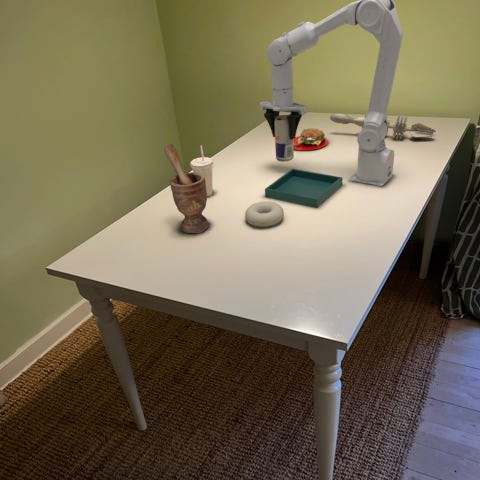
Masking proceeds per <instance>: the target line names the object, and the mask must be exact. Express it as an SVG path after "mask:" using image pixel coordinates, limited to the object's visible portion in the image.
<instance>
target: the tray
mask: <svg viewBox="0 0 480 480" xmlns="http://www.w3.org/2000/svg"><path fill="white" fill-rule="evenodd" d="M343 179H344V178H343V177H342V176H339V175H338V176H337V175H331V174H326V173H320V172H315V171H310V170H309V171H308V170H304V169H297V168H291V169H290V170H289V171H287V172H286V173H284V174H283V175H282V176H280V177H279V178H277V179H276V180H274V182H272V183H271V184H270V185H268V186H267V187H265V188H264V197H265V198H270V199H273V200H278V201H283V202H288V203H292V204H297V205H302V206H305V207H306V206H307V207H311V208H315V209H318V208H319V207H320V206H321V205H322V204H323V203H325V201H327V200H328V199H329V198H331V196H332V195H334V193H336V192H337V191H338V190H340V188H341V187H342V186H343V181H344V180H343Z"/></svg>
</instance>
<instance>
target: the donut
mask: <svg viewBox="0 0 480 480" xmlns="http://www.w3.org/2000/svg"><path fill="white" fill-rule="evenodd" d="M284 216H285V213H284V208H283V207H282V206H281V205H280V204H279V203H277V202H274V201H267V200H265V201H258V202H254V203H252V204H251V205H249V206H248V207H247V209H246V210H245V212H244V217H245V220H246V222H247V223H249V224H250V225H252V226H254V227H259V228H260V227H261V228H265V227H272V226H274V225H277V224H279V223H280V222H281V221H282V220H283V217H284Z"/></svg>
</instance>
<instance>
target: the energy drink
mask: <svg viewBox="0 0 480 480" xmlns="http://www.w3.org/2000/svg"><path fill="white" fill-rule="evenodd" d="M288 115H289V114H279V116H277V117H275V120H274V126H275V137H274V143H275V144H274V147H275V159H276V161H278V162H281V163H282V162H283V163H285V162H286V163H287V162H290V161H292V160H293V159H294V157H295V154H294V153H295V152H294V151H295V149H294V147H293V139H292V140H291V139H290V137H289V124H288V120H287V116H288Z"/></svg>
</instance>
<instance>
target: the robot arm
mask: <svg viewBox="0 0 480 480" xmlns="http://www.w3.org/2000/svg"><path fill="white" fill-rule="evenodd" d="M345 25H349V26H353V27H355V26H357V25H359V27H360V28H362V29H363V30H365V31H366V32H367V33H370V34H372V36H373V37H374V38H375V39H376V41H377V42H378V43H379V50H378V56H377V59H376V60H377V61H376V65H375V66H376V67H375V70H374V77H373V80H372V81H373V82H372V87H371V92H370V93H371V94H370V97H369V98H370V99H369V103H368V108H367V113H366V115H367V116H366V118H365V117H364V118H365V121H364V126H363V129H362V128H361V130H360V132H358V135H357V144H358V151H357V164H356V165H357V167H356V174H355V175H354V176H352V178H351V179H350V181H351V182H357V183H362V184H368V185H374V186H380V187H383V186H385V184H386V183H388V181H389V180H390V179H391V178H392V177H393V176H394V174H393V170H394V163H395V151H394V149H391V148H388V147H387V144H386V141H385V140H384V138H385V137H386V136H387V134H388V131H389V128H388V124H387V120H388V117H389V116H388V115H389V112H388V108H389V105H390V98H391V95H392V90H393V85H394V80H395V76H396V72H397V65H398V62H399V57H400V52H401V47H402V43H403V37H404V31H403V28H402V25H401V21H400V19H399V15H398V11H397V5H396V2H394V0H356V1H353V2H350V3H348V4H346V5H345V6H343V7H342V8H340V9H337V10H336V11H335V12H334V13H332V14H330V15H327V17H325V18H323V19H321V20H320V21H318V22H317V23H314V22H311V21H307V22H305V21H302V22H300V23H297V27H296V28H294V29H292V30H290V31H289V32H288V31H285V32H283V33H282V34H281V37H278V38H276V39H273V41H271V42H270V43H269V44H268V46H267V50H266V55H267V56H266V57H267V59H268V61H269V62H270V73H271V96H272V97H271V98H272V101H266V100H265V101H261V102H259V110H260V111H265V112H264V113H263V117H264V118H265V120H266V122H267V123H268V126H269V128H270V131H271V134H272V137H273V138H275V126H274V120H275V117H277V116H280V112H281V113H282V112H283V113H289V114H287V115H288V116H287V120H288V124H289V137H290V139H291V140H292V139H294V138H295V137H297V131H298V127H299V124H300V122H301V119H302V117H303V115H306V114H307V113H308V105H307V104H306V105H305V104H300V103H297V102H294V87H293V86H294V83H293V57H297V56H299V55H301V54H303V53H304V52H306V51H308V50H311V49H312V48H314V47H316V46H317V45H318V43H319V40H320V37H322V36H325V35H327V34H328V33H331V32H332V31H334V30H336V29H338V28H340V27H343V26H345Z"/></svg>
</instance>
